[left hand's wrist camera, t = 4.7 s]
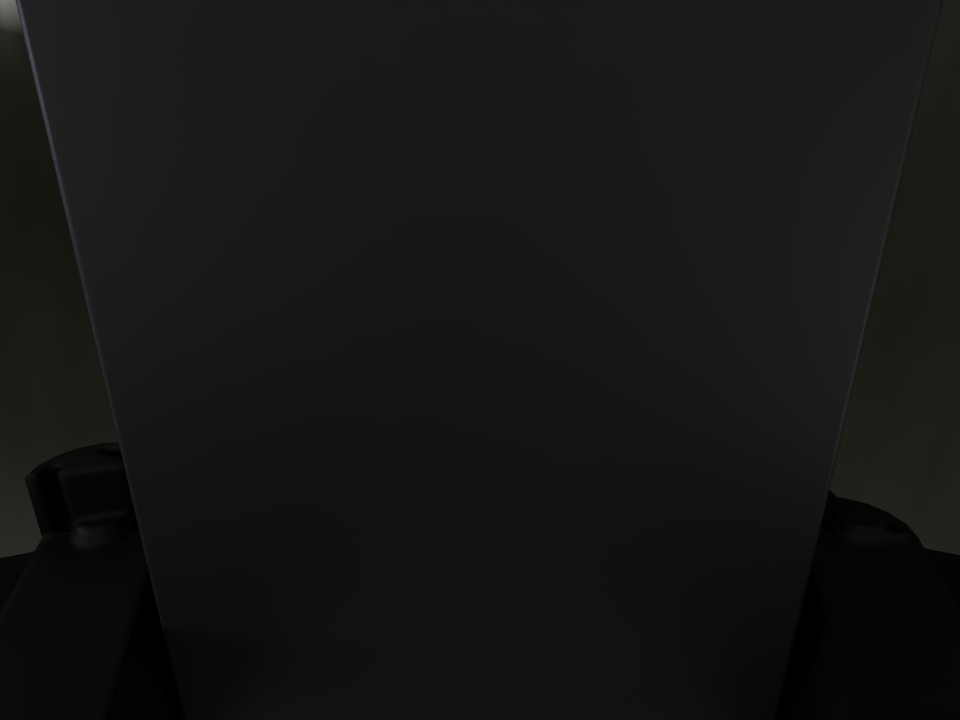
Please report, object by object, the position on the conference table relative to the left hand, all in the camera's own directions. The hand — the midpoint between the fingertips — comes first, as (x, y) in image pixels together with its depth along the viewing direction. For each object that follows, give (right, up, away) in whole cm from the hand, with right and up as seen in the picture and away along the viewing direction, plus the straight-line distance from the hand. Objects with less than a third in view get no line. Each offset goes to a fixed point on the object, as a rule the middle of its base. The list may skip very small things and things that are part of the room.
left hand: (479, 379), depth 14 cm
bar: (0, +8, -3) cm, 9 cm away
